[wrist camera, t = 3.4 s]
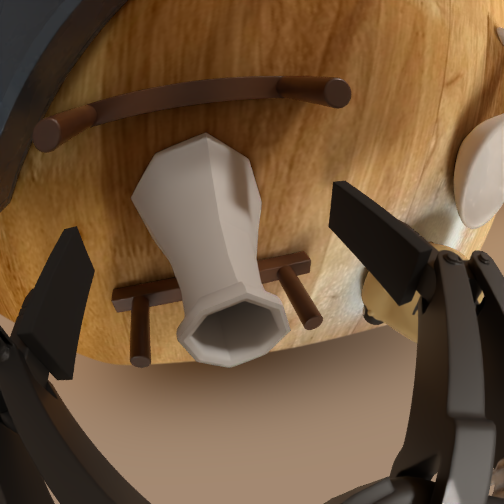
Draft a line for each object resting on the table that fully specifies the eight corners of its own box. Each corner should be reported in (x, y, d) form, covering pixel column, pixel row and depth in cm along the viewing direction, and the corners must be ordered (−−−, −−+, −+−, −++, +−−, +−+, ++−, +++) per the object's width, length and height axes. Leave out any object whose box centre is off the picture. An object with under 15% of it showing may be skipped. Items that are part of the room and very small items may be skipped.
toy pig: (387, 209, 25) (368, 260, 17) (488, 245, 20) (509, 311, 12) (365, 285, 30) (337, 350, 23) (452, 317, 25) (449, 389, 17)
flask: (208, 108, 13) (278, 153, 5) (279, 201, 17) (372, 317, 9) (109, 196, 14) (61, 340, 6) (191, 268, 18) (220, 409, 10)
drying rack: (118, 301, 18) (113, 371, 13) (57, 115, 10) (0, 139, 6) (303, 263, 21) (341, 320, 16) (311, 77, 13) (380, 84, 8)
